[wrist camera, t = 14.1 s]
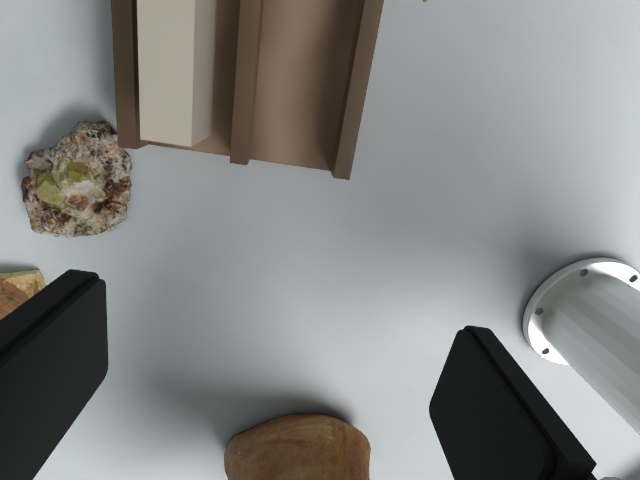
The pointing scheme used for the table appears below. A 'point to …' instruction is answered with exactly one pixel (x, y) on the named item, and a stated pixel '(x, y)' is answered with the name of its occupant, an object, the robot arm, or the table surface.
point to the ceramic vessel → (299, 450)
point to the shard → (18, 289)
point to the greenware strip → (176, 69)
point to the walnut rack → (270, 80)
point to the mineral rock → (78, 183)
